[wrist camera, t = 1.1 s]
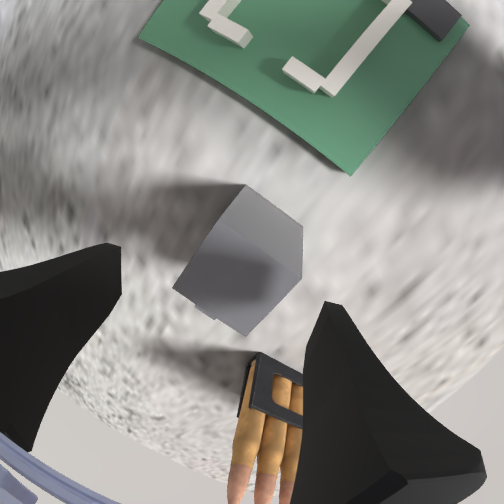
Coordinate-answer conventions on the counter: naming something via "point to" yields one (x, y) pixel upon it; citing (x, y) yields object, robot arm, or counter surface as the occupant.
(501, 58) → the counter surface
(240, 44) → the board
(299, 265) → the plug
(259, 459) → the ammunition clip
